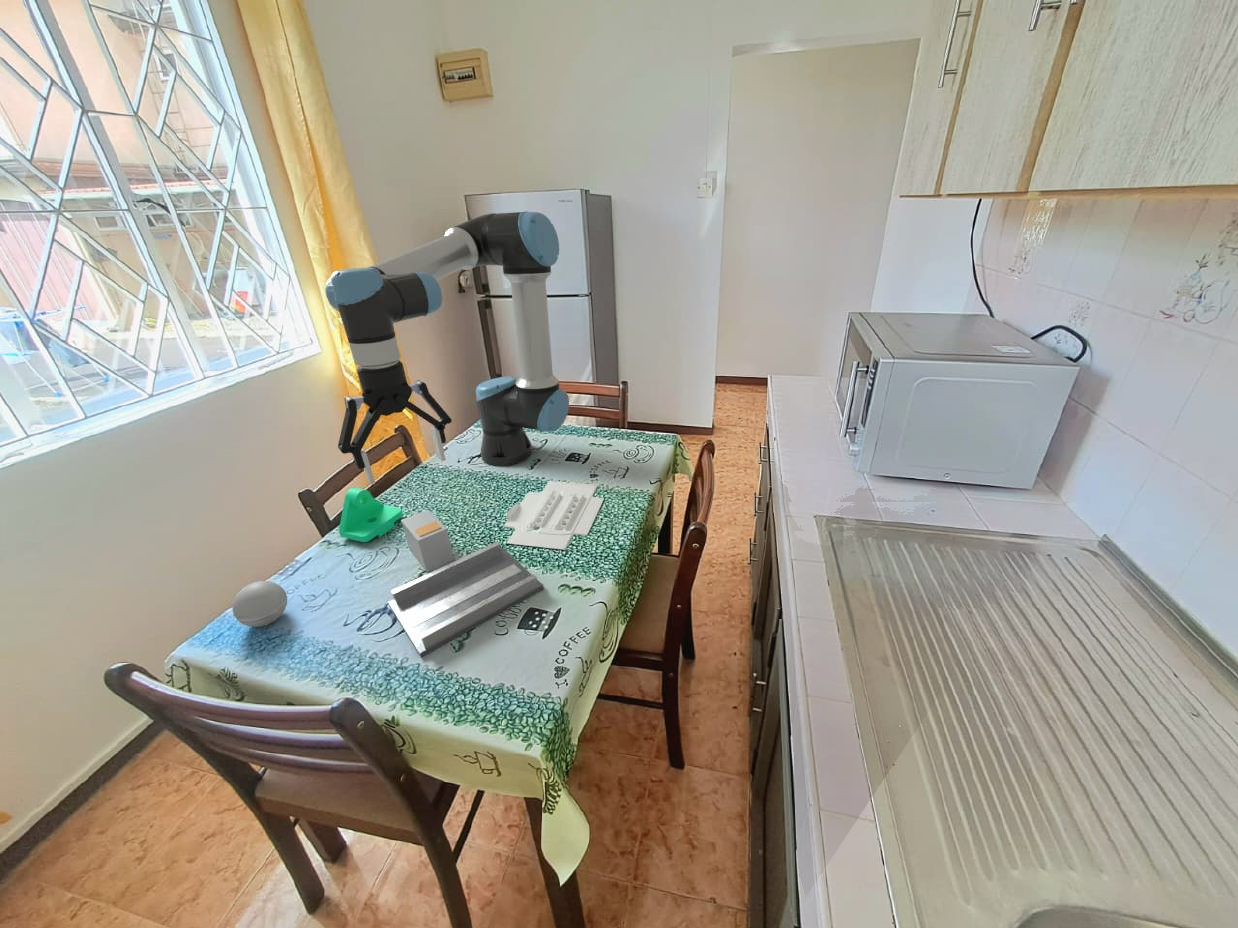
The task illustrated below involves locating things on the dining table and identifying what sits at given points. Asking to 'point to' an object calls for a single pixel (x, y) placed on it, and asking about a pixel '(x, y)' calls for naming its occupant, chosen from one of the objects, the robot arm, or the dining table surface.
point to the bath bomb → (259, 603)
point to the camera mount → (366, 516)
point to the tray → (553, 515)
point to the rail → (461, 596)
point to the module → (428, 540)
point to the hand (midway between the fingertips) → (407, 469)
